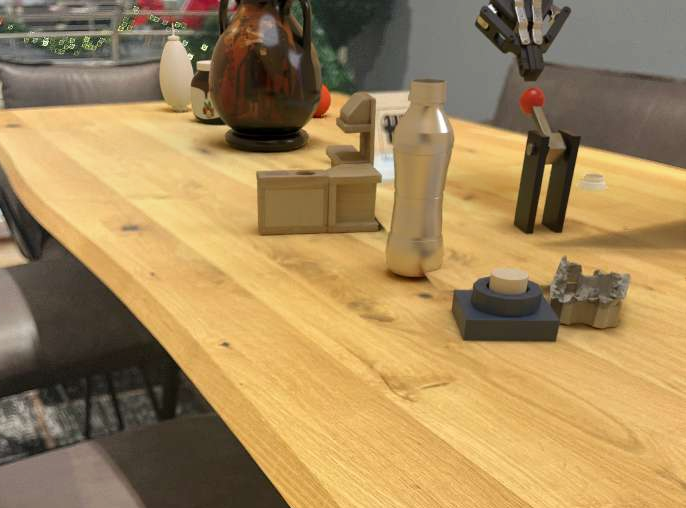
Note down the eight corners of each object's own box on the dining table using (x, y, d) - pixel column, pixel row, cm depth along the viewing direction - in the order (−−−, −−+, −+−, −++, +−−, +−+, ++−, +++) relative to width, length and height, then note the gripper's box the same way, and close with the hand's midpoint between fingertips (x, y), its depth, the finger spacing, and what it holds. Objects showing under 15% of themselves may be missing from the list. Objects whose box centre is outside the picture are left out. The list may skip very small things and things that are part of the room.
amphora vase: (339, 140, 154) (344, -28, 138) (288, 160, 139) (287, -26, 122) (248, 130, 162) (243, -30, 146) (190, 148, 147) (176, -29, 130)
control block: (536, 311, 80) (543, 273, 78) (556, 342, 74) (564, 302, 71) (451, 309, 80) (455, 272, 78) (463, 341, 74) (468, 301, 71)
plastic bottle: (434, 287, 86) (455, 86, 74) (376, 279, 88) (388, 82, 76) (446, 269, 91) (468, 78, 79) (391, 262, 93) (404, 75, 81)
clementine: (319, 112, 182) (320, 79, 178) (339, 116, 178) (340, 82, 174) (294, 116, 178) (294, 81, 174) (314, 120, 174) (315, 84, 170)
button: (521, 284, 76) (524, 267, 75) (529, 297, 74) (532, 279, 72) (485, 284, 76) (488, 266, 75) (492, 297, 74) (495, 279, 72)
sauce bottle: (181, 114, 178) (173, 24, 167) (156, 111, 181) (147, 22, 171) (202, 110, 183) (197, 22, 173) (177, 107, 186) (170, 20, 176)
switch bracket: (500, 231, 104) (516, 128, 96) (549, 229, 105) (568, 127, 97) (520, 247, 98) (539, 139, 91) (571, 244, 99) (593, 137, 92)
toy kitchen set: (247, 199, 116) (243, 87, 107) (355, 196, 118) (359, 86, 109) (260, 235, 101) (257, 109, 92) (383, 231, 103) (391, 107, 94)
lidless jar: (612, 199, 119) (597, 191, 123) (616, 179, 117) (601, 171, 121) (582, 200, 118) (568, 192, 122) (586, 179, 116) (572, 172, 120)
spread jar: (187, 121, 170) (182, 61, 164) (220, 114, 178) (217, 57, 171) (228, 127, 165) (225, 66, 158) (260, 120, 173) (259, 61, 166)
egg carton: (554, 289, 86) (561, 252, 83) (624, 299, 84) (634, 262, 81) (539, 322, 78) (547, 282, 75) (616, 334, 75) (627, 294, 73)
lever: (513, 104, 101) (521, 81, 98) (535, 104, 101) (544, 81, 99) (538, 167, 96) (547, 145, 93) (561, 167, 96) (571, 145, 93)
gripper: (474, -66, 96) (495, 56, 94) (572, -64, 98) (595, 55, 95) (456, -17, 104) (474, 98, 101) (547, -16, 106) (568, 96, 103)
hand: (533, 77), depth 98 cm, fingers closed
